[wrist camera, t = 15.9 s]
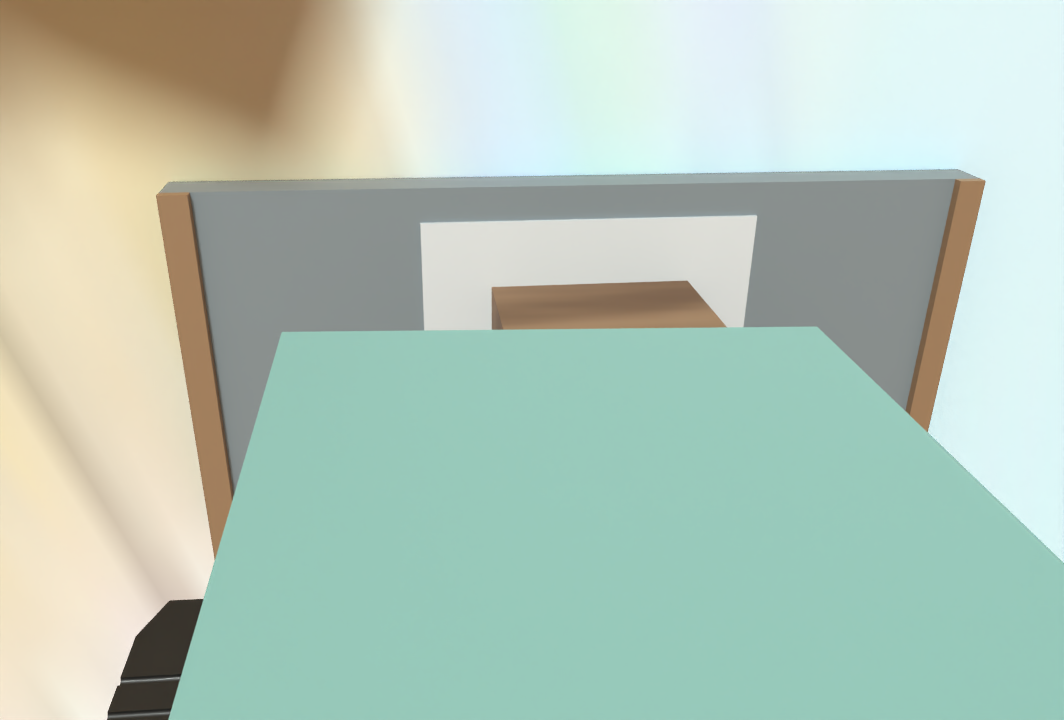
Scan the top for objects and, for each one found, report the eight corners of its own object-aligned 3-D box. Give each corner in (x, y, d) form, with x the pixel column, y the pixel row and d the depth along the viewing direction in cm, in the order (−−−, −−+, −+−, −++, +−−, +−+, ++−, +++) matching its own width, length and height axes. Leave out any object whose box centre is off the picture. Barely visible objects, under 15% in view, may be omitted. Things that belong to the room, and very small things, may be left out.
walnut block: (491, 287, 27) (515, 375, 21) (687, 280, 28) (758, 364, 22) (491, 460, 29) (513, 578, 24) (671, 450, 30) (731, 562, 25)
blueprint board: (168, 182, 26) (155, 195, 24) (957, 169, 29) (985, 180, 27) (222, 532, 31) (215, 560, 29) (888, 489, 34) (908, 512, 32)
